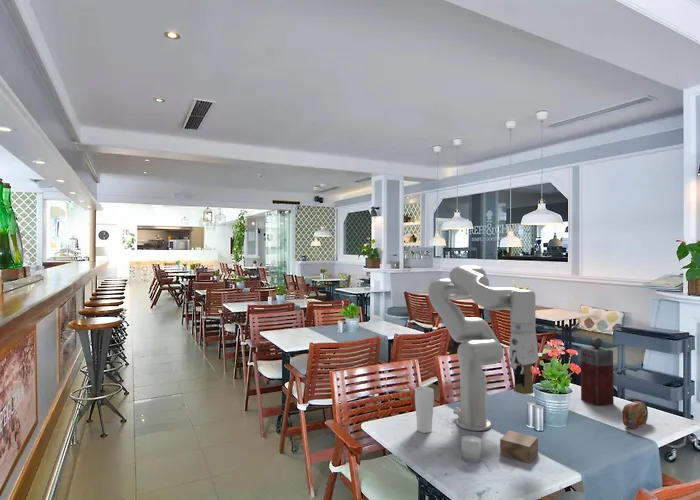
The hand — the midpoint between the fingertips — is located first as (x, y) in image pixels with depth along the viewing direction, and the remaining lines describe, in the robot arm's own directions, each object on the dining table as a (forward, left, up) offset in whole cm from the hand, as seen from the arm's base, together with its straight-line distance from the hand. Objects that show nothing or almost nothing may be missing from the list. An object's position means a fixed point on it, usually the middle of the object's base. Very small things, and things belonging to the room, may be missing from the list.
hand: (522, 384), depth 139 cm
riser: (0, -2, -22) cm, 22 cm away
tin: (+12, +55, -22) cm, 61 cm away
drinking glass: (-31, -13, -22) cm, 41 cm away
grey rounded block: (-7, -17, -22) cm, 29 cm away
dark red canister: (-10, +72, -22) cm, 76 cm away
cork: (0, 0, -2) cm, 2 cm away
